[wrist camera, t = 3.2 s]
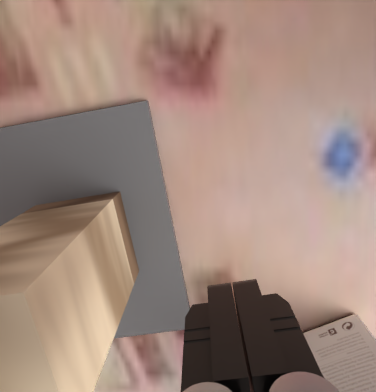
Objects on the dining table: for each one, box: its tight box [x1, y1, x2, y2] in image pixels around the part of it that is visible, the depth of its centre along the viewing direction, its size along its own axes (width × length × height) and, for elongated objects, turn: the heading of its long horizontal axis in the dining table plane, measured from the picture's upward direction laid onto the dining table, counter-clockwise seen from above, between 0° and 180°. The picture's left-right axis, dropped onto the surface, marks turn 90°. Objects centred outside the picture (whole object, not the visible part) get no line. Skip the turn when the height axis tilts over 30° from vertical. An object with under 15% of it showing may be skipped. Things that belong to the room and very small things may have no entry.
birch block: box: [0, 192, 139, 392], centre depth 14 cm, size 5×5×10 cm
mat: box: [0, 101, 190, 338], centre depth 19 cm, size 20×14×1 cm
